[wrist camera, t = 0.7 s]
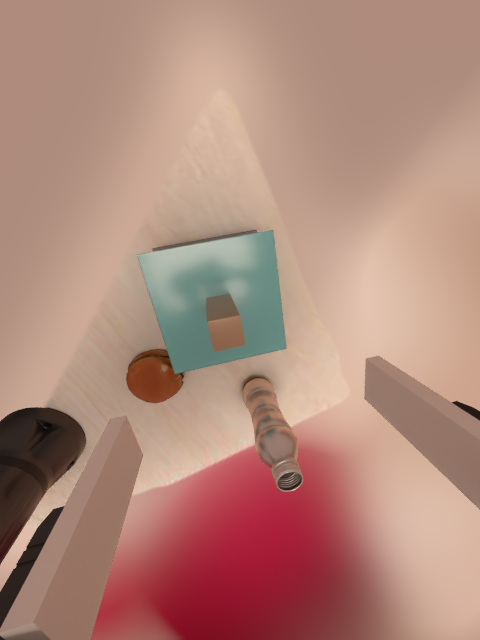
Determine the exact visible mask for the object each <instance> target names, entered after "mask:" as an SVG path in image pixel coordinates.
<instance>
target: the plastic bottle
mask: <svg viewBox="0 0 480 640" xmlns="http://www.w3.org/2000/svg"><path fill="white" fill-rule="evenodd" d="M243 399H244V402H245V404H246V406H247V408H248V410H249V412H250V415H251V418H252V422H253V427H254V434H255V447H256V452H257V455H258V456H259V457H260V459H261V461H262V462H263V463H264V464H265V465H267V466H268V467H269V468H271V472H272V475H273V477H274V479H275V483H276V486H277V487H278V489H279V490H281V491H284V492H289V491H293V490H295V489H297V488H298V487H300V486H301V484H302V483H303V475H302V473H301V471H300V466H299V464H298V462H297V461H296V458H297V454H298V441H297V438H296V436H295V434H294V432H293V431H292V429H291V428H290V426H289V425H288V423H287V422H286V420H285V419H284V417H283V415H282V413H281V411H280V409H279V406H278V403H277V399H276V394H275V390H274V388H273V386H272V385H271V384H270V383H269V382H268V381H267V380H265V379H262V378H255V379H252V380H250V381H249V382H248V383H247V384H246V385H245V387H244V389H243Z"/></svg>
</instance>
